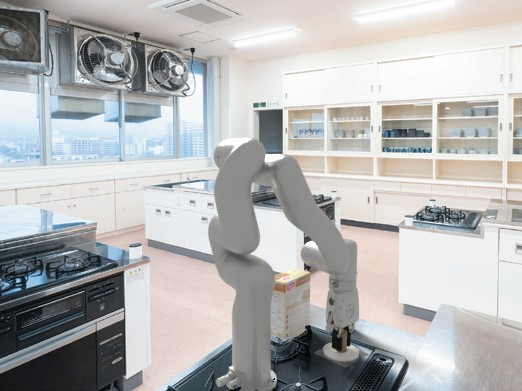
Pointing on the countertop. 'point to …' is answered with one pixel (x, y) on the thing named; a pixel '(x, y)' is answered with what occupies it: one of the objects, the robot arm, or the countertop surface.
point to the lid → (341, 356)
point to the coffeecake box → (290, 304)
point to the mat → (344, 364)
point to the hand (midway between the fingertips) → (341, 346)
